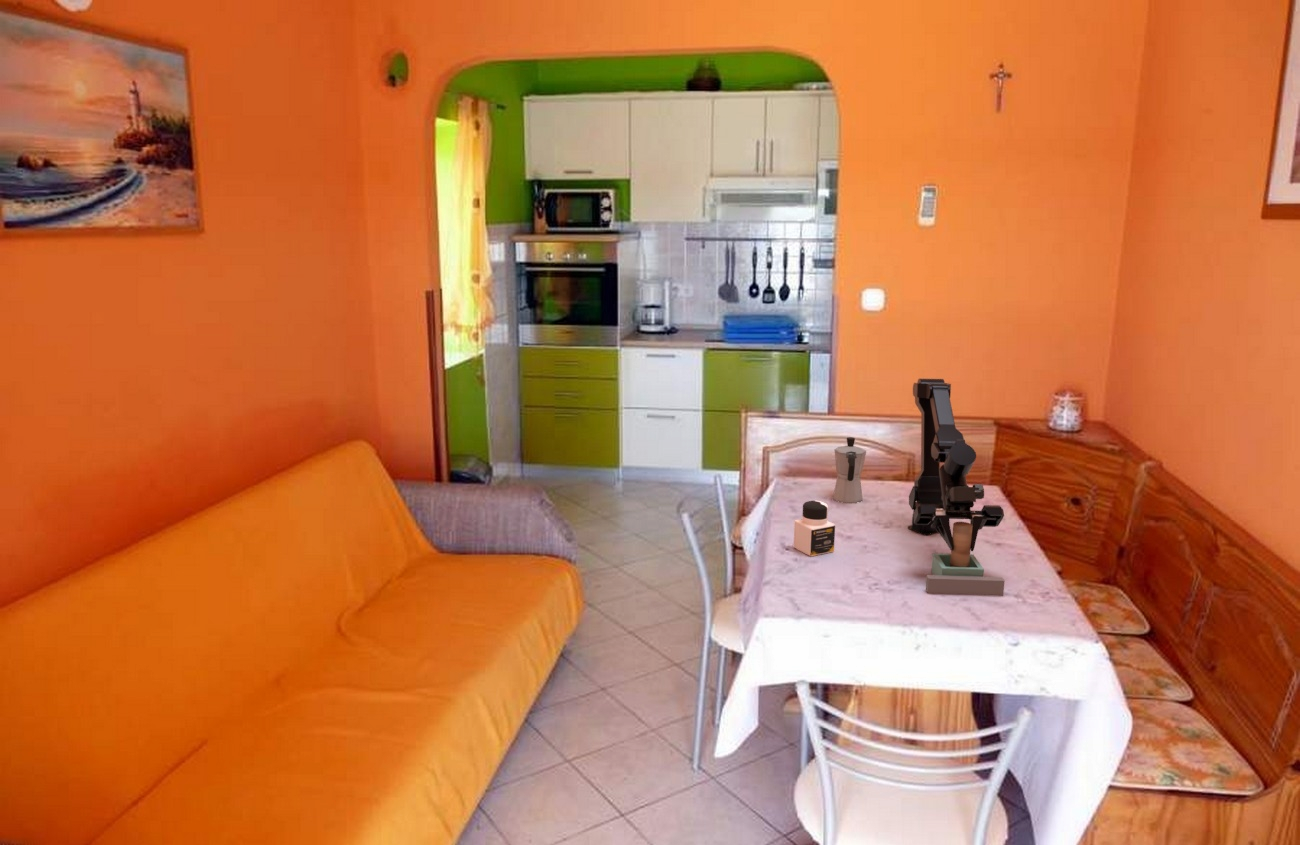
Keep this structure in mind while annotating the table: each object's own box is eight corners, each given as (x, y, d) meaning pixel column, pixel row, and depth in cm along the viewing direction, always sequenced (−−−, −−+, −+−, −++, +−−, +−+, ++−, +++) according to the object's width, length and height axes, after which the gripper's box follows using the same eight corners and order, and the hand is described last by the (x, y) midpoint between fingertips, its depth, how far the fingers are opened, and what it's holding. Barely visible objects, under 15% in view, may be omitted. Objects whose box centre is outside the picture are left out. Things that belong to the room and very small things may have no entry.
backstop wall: (925, 589, 206) (926, 574, 205) (1000, 592, 205) (1001, 577, 204) (927, 593, 204) (928, 578, 203) (1003, 596, 203) (1004, 580, 202)
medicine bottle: (810, 557, 224) (812, 509, 222) (792, 547, 231) (794, 500, 228) (834, 552, 228) (836, 504, 225) (816, 542, 234) (818, 496, 231)
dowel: (951, 571, 212) (955, 520, 209) (969, 574, 210) (974, 523, 207) (947, 577, 208) (951, 525, 205) (965, 580, 206) (970, 529, 203)
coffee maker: (830, 491, 275) (833, 431, 271) (861, 492, 274) (865, 432, 269) (833, 507, 260) (836, 444, 256) (865, 509, 259) (869, 446, 255)
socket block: (931, 571, 215) (932, 553, 214) (971, 572, 215) (973, 554, 214) (940, 587, 207) (942, 568, 206) (982, 588, 206) (984, 569, 205)
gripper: (919, 469, 208) (926, 533, 200) (1005, 471, 207) (1016, 535, 199) (910, 492, 218) (916, 554, 209) (992, 494, 216) (1002, 557, 208)
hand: (962, 550), depth 206 cm, fingers closed on dowel, 4 cm apart
